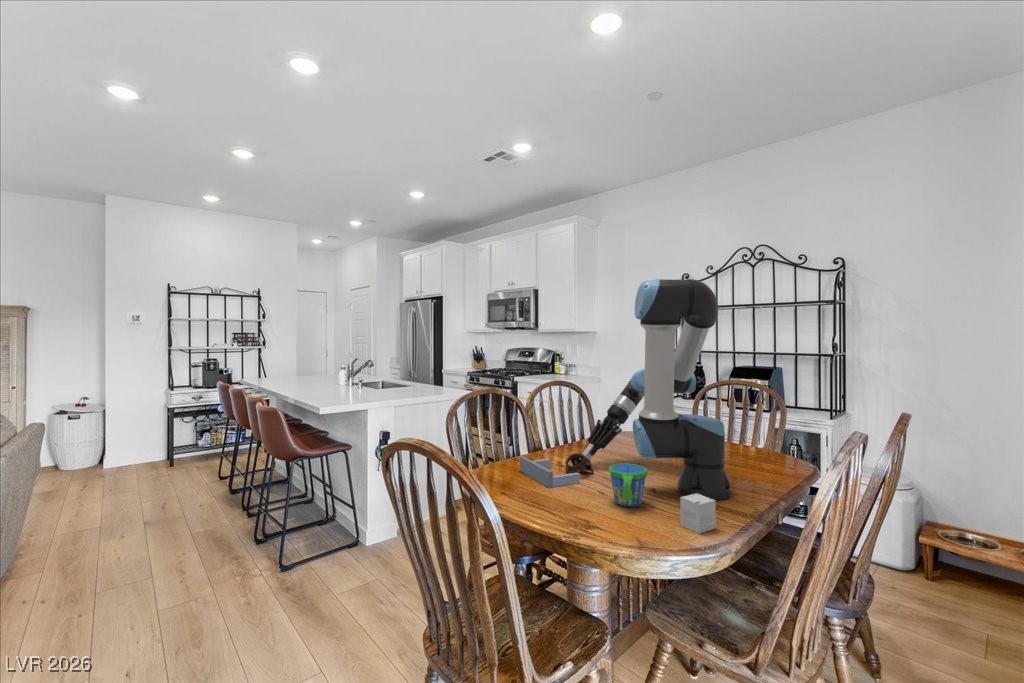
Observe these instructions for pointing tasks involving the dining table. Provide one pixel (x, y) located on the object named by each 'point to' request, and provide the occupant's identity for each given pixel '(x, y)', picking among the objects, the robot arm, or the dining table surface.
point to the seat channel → (546, 473)
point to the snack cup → (628, 483)
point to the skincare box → (698, 513)
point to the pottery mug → (578, 463)
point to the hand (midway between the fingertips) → (583, 460)
